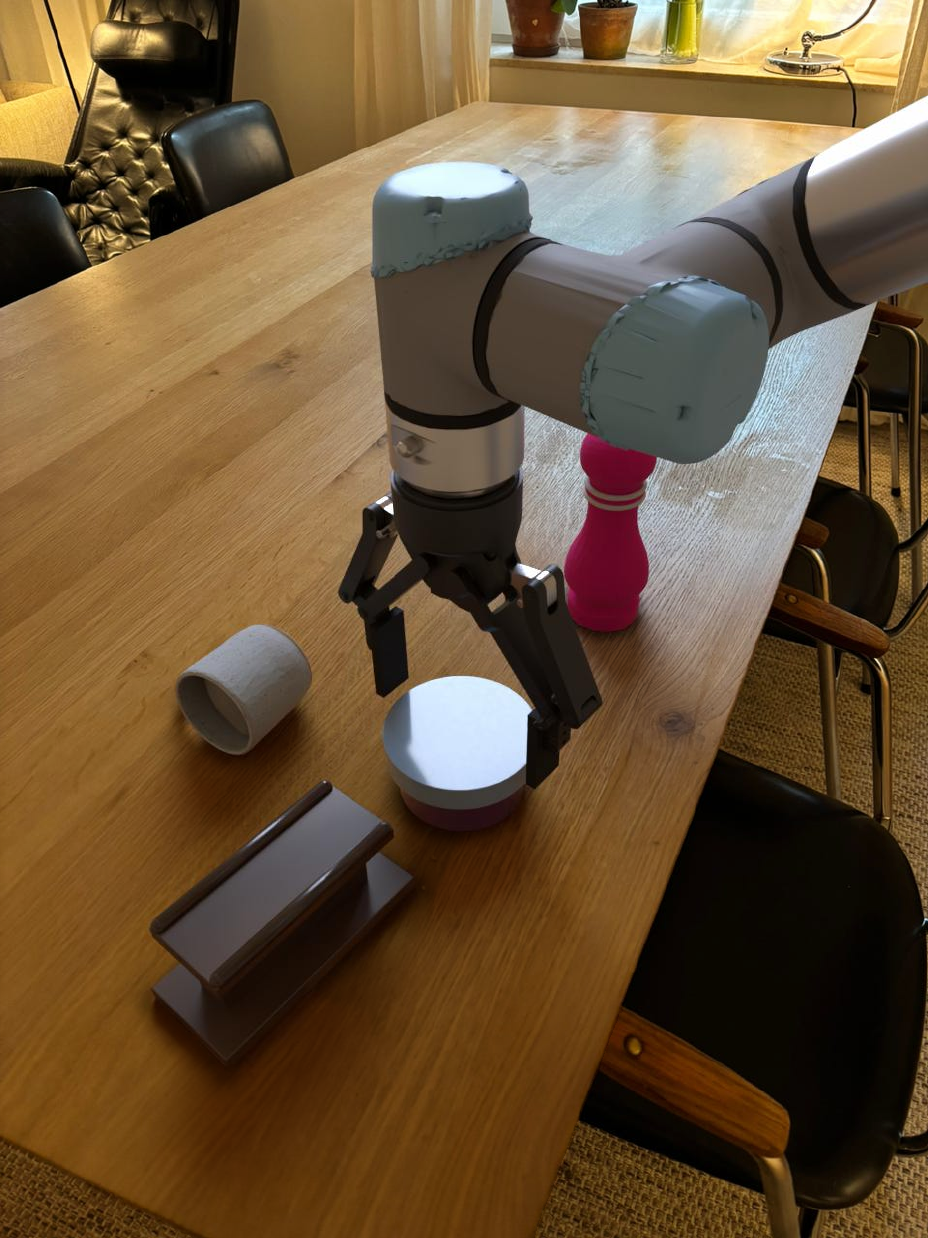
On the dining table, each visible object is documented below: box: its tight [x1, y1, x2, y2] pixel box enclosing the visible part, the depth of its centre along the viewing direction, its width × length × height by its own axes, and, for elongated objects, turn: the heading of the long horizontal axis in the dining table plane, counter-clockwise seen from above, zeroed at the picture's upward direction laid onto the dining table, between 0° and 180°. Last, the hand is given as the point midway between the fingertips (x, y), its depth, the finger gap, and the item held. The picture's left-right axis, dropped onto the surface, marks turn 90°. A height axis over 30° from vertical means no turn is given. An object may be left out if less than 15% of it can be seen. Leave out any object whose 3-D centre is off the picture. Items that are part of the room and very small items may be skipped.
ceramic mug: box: [174, 623, 313, 756], centre depth 76 cm, size 11×8×8 cm
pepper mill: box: [563, 433, 658, 633], centre depth 82 cm, size 7×7×20 cm
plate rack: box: [148, 779, 415, 1071], centre depth 61 cm, size 7×16×8 cm, turn 140°
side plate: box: [381, 675, 533, 810], centre depth 70 cm, size 11×11×2 cm
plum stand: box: [399, 784, 525, 832], centre depth 72 cm, size 9×9×4 cm
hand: (463, 728), depth 69 cm, fingers open, 13 cm apart
